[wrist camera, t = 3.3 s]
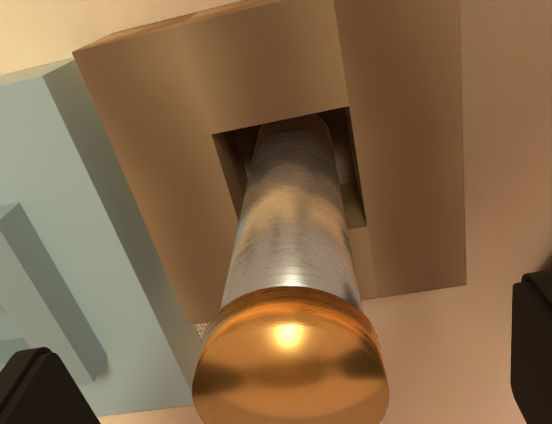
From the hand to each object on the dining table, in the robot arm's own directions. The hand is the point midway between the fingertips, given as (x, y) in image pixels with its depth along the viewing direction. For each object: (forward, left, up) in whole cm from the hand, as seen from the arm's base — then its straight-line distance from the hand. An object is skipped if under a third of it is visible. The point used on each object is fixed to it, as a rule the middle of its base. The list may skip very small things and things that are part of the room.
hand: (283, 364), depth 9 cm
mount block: (0, -1, -11) cm, 11 cm away
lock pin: (0, -1, -11) cm, 11 cm away
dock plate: (+14, +2, -11) cm, 18 cm away
